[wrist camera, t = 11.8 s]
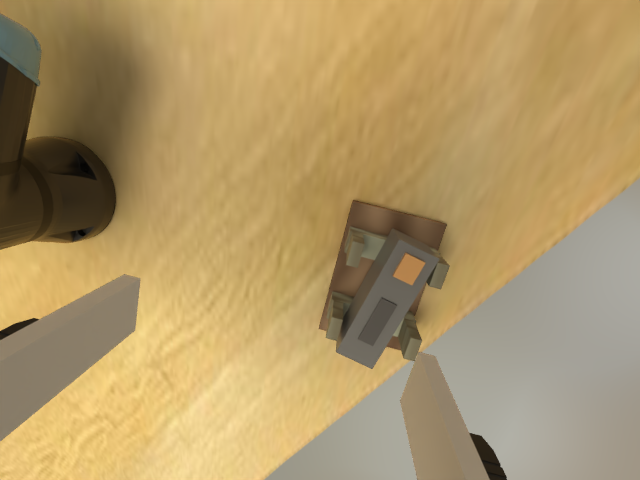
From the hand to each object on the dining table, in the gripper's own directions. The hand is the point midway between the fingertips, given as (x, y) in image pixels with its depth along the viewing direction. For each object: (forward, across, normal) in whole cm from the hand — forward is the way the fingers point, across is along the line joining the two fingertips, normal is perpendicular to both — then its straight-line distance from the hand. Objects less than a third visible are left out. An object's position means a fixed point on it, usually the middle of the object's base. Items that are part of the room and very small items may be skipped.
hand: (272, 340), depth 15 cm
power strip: (+28, +10, -7) cm, 31 cm away
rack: (+32, +10, -7) cm, 34 cm away
